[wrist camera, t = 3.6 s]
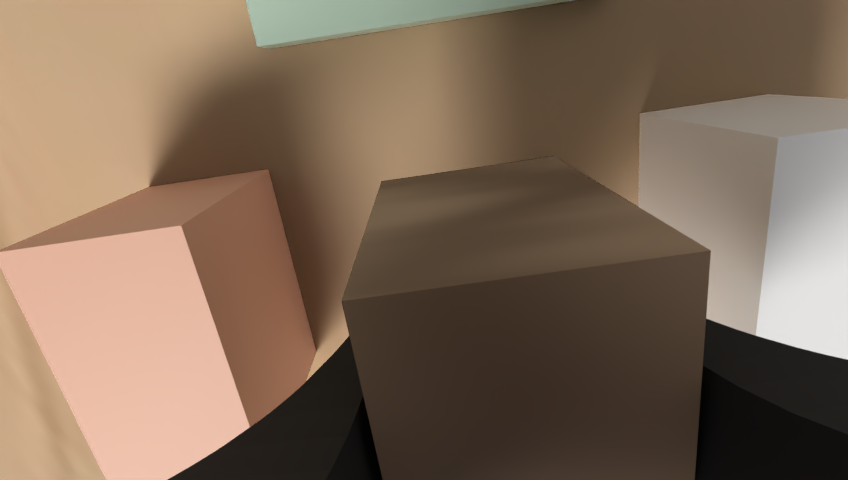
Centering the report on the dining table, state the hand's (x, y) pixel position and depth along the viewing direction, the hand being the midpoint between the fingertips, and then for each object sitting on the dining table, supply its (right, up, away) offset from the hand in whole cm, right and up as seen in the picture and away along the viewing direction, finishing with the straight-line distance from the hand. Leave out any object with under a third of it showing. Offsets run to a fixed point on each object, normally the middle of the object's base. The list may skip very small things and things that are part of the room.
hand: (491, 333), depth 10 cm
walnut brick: (0, 0, +1) cm, 1 cm away
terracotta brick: (-8, +1, +6) cm, 10 cm away
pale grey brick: (+8, +3, +5) cm, 10 cm away
